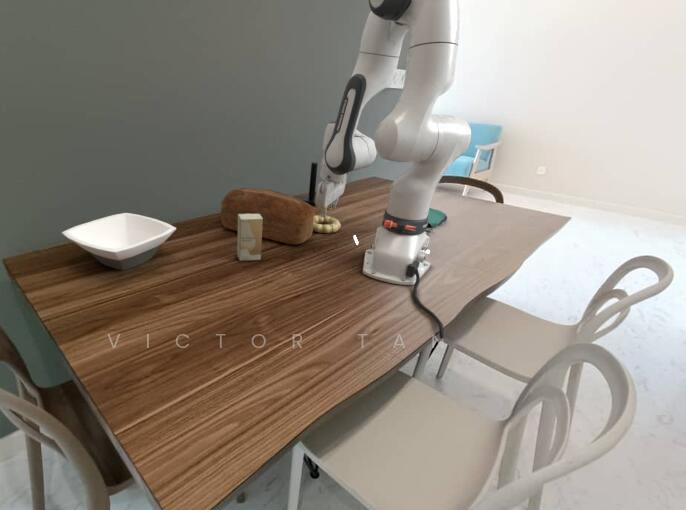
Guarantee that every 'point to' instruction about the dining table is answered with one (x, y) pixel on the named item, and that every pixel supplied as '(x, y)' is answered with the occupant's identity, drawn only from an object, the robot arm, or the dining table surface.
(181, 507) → the dining table surface
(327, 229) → the pale yellow segmented ring
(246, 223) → the cosmetic box
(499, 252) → the dining table surface
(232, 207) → the bread
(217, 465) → the dining table surface
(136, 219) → the bowl
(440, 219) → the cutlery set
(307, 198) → the peg stand
